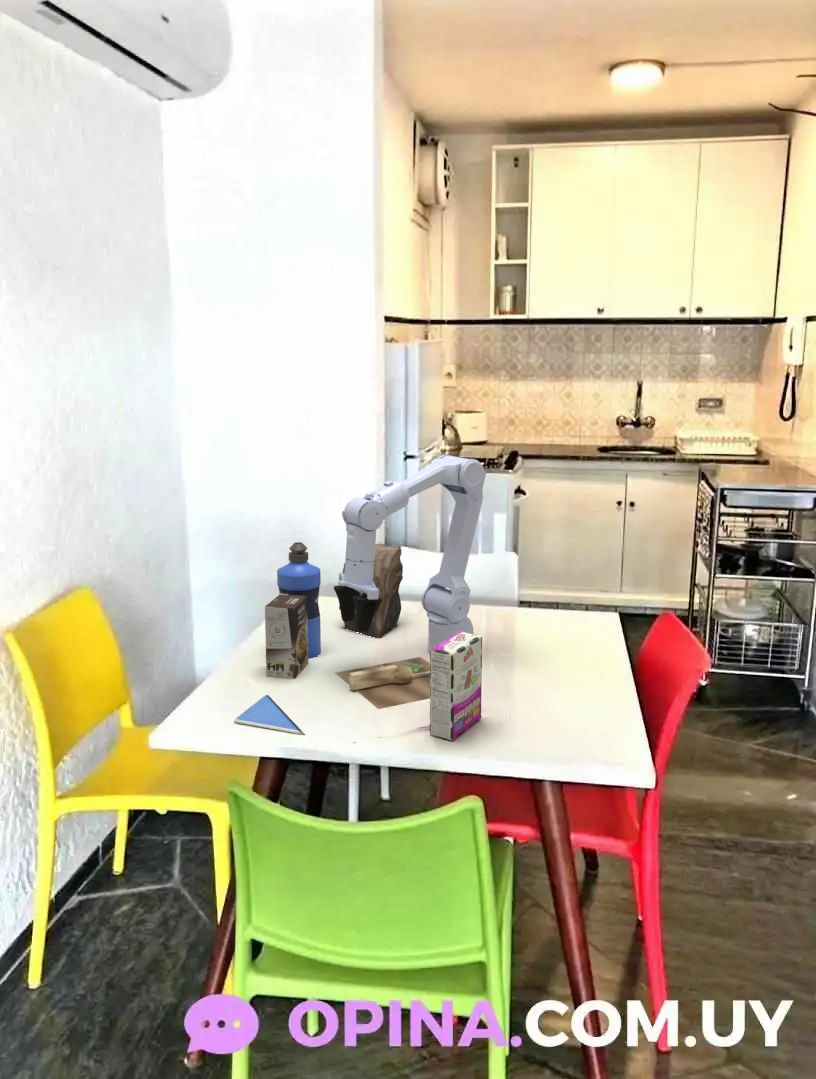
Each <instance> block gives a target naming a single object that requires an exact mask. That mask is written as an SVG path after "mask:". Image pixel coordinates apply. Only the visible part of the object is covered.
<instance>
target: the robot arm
mask: <svg viewBox="0 0 816 1079" xmlns="http://www.w3.org/2000/svg"><path fill="white" fill-rule="evenodd" d="M431 460H432V461H431V462H430V464H428V465H426V466H424V468H422V469H420V470H419V471H417V472H416V473H414V474H413V475H411V476H410V477H408V478H406V479H405V480H403V481H402V482H399V481H396V480H386V481H384V482H383V486H381V487H379V488H377V489H375V490H374V491H368V492H367V493H365V495H364V496H363V498H361V497H354V498H351V500H349V501H348V502H347V504H346V505H345V506H344V510H342V511H341V515H342V516H341V517H342V520H343V521H344V523H345V531H346V546H345V547H346V548H345V562H344V564H345V573H342V572H339V573H338V583H337V584H338V585H334V586H333V590H334V592H335V595H336V596H337V600H338V603H339V605H340V609H339V611H340V615H341V621H343V622H344V621H353V618H354V614H355V608H356V613H357V628H358V631H359V632H366V631H369V629H370V626H371V623H372V620H373V617H374V614H375V612H376V610H377V609H378V607H379V605H380V604H381V603H382V598H380V597H378V595H379V589H377V588H376V586H375V584H374V582H373V572H374V558H375V544H377V543H376V541H377V530H378V529H380V528H381V526H382V524H383V522H384V520H385V519H386V518H388V517H389V516H391V515H393V514H395V513H396V512H398V511H400V510H402V509H403V508H405V507H407V506H408V505H409V504H408V503H409V500H410V498H413V496H416V495H417V494H420V493H422V492H424V491H427V490H428V489H431V488H432V487H435V486H437V485H441V486H442V487H443V488H445V489H446V491H448V492H449V494H451V496H452V498H453V500H454V501H455V505H454V509H453V513H452V517H451V521H450V526H449V530H448V534H447V538H446V542H445V547H444V550H443V554H442V559H441V562H440V566H439V572H437V573H436V574H435V575H433V576H432V577H430V579H429V582H428V585H427V587H426V588H425V590H424V591H423V593H422V596H421V605H422V606H421V607H422V608H423V610H425V612H426V617H428V631H427V632H428V636H427V637H428V639H427V644H428V645H427V648H428V649H427V653H428V655H429V656H430V649H431V648H433V647H435V646H436V645H438V644H440V643H441V642H443V641H445V640H447V639H448V638H450V637H452V636H453V635H455V634H457V633H458V632H467V633H472V634H474V626H473V623H472V620H471V618H470V617H468V614H469V612H470V608H471V603H470V594H471V589H470V587H469V585H468V583H467V582H466V580H465V575H466V571H467V566H468V563H469V558H470V555H471V551H472V550H471V549H472V547H473V542H474V538H475V534H476V530H477V525H478V520H479V517H480V513H481V509H482V505H483V500H484V491H483V488H484V484H485V481H486V477H487V472H486V471H485V469H484V467H483V465H482V464H481V462H480V461H479V460H477V459H474V458H465V457H459V456H454V455H453V456H452V455H451V454H443V455H440V456H439V457H437V458H434V459H431ZM360 593H362V596H359V594H360Z"/></svg>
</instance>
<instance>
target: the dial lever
mask: <svg viewBox="0 0 816 1079" xmlns="http://www.w3.org/2000/svg"><path fill="white" fill-rule="evenodd" d="M428 674H430V671H428V672H423V673H417V674H412V668H410V667H407V666H396V665H390V666H385V667H379V668H374V669H368V670H363V671H358V672H352V673H349V684H348V686H349V688H350V690H352V691H356V690H357V689H362V688H367V687H373V686H378V685H383V684H388V683H393V682H394V683H408V682H410V681H412V678H413V677H418V676H423V675H428Z"/></svg>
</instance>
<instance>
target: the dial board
mask: <svg viewBox="0 0 816 1079" xmlns="http://www.w3.org/2000/svg"><path fill="white" fill-rule="evenodd" d="M390 665H396V666H407V667H410V668H412V674H417V673H423V672H428V671H430V661H427V660H426V659H425V658H423V657H422V656H420V657H413V658H409V659H402V660H397V661H393V662H386V663H382V664H375V665H370V666H369V665H368V666H365V667H360V668H353V669H348V670H343V671H338V672H335V675H337V676H338V677H340V678H341V679H342V680H343V681H344V682H345V683H346V684H348V685H349V673H352V672H358V671H363V670H368V669H374V668H379V667H385V666H390ZM355 691H356V692H357V693H358V694H360V695H361V696H362V697H363V698H364V699H366V700H367V702H369V703H371V705H373V706H374V707H375V708H377V710H380V709H386V708H390V707H395V706H400V705H404V704H410V703H414V702H418V701H424V700H428V699H429V700H430V674H428V675H423V676H418V677H413V678H412V681H410V682H408V683H394V682H393V683H388V684H383V685H378V686H373V687H367V688H362V689H357V690H355Z"/></svg>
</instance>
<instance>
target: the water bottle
mask: <svg viewBox="0 0 816 1079" xmlns="http://www.w3.org/2000/svg"><path fill="white" fill-rule="evenodd" d="M288 549H289V550H290V551H289V552H288V563H287V564H285V565H283V566H280V567H279V568H277V570H276V576H277V577H276V578H277V581H276V582H277V587H278V593H279V594H278V595H298V596H307V618H308V660H310V659H315V658H318V657H319V656H320V655H321V654H320V653H322V649H321V648H322V647H321V644H322V641H321V638H322V636H321V633H322V632H321V631H322V630H321V629H322V628H321V613H320V608H319V607H320V606H319V596H320V586H321V584H322V583H321V568H320V567H318V566H316V565H314V564H311V563H309V552H308V551H307V550H308V547H307V546H306V545H305V543H303V542H301V541H296V542H293V543H292V545H291V546H290V547H289V548H288ZM318 655H319V656H318ZM314 657H315V658H314Z"/></svg>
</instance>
